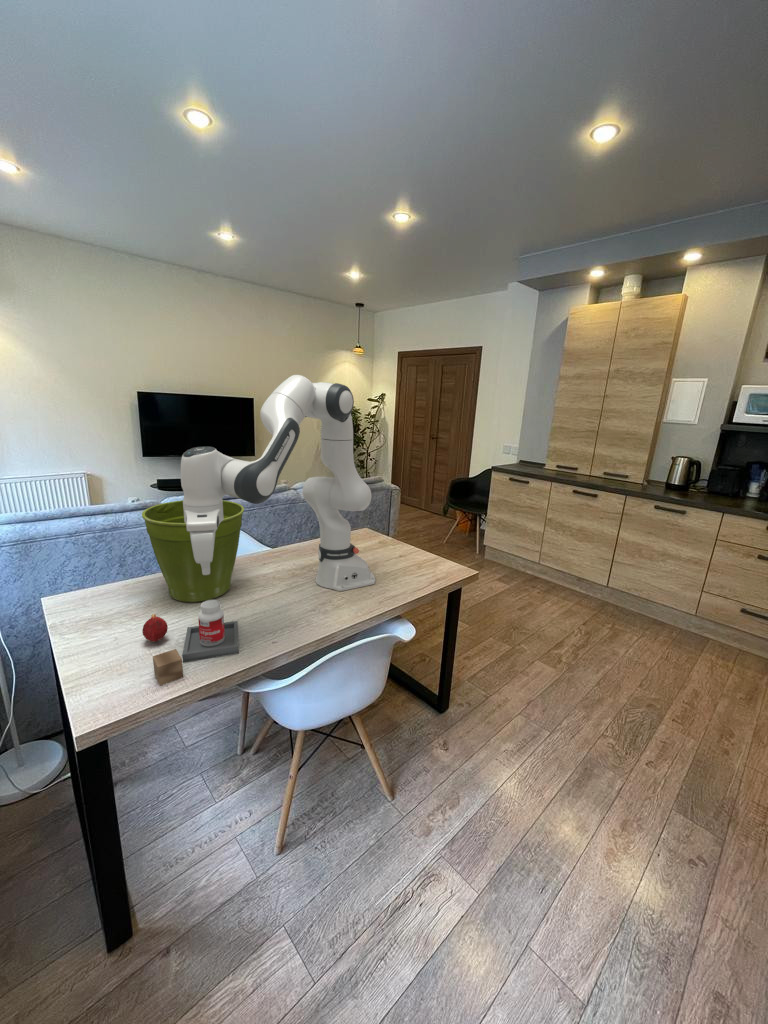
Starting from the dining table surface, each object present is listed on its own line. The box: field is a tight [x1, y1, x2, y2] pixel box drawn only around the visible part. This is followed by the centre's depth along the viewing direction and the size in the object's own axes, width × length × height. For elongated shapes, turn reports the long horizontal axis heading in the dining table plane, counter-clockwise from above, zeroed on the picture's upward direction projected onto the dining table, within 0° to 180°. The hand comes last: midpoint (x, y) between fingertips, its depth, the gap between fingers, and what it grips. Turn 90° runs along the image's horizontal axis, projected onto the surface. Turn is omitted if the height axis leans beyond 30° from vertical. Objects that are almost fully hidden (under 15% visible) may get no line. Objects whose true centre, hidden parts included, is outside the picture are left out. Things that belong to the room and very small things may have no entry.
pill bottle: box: [197, 599, 225, 647], centre depth 104 cm, size 6×6×11 cm
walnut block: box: [152, 648, 184, 687], centre depth 92 cm, size 5×5×5 cm
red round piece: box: [141, 613, 169, 643], centre depth 105 cm, size 6×6×8 cm
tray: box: [181, 620, 239, 663], centre depth 106 cm, size 13×13×2 cm
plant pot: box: [141, 499, 245, 603], centre depth 131 cm, size 30×30×29 cm
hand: (207, 566), depth 100 cm, fingers open, 8 cm apart
